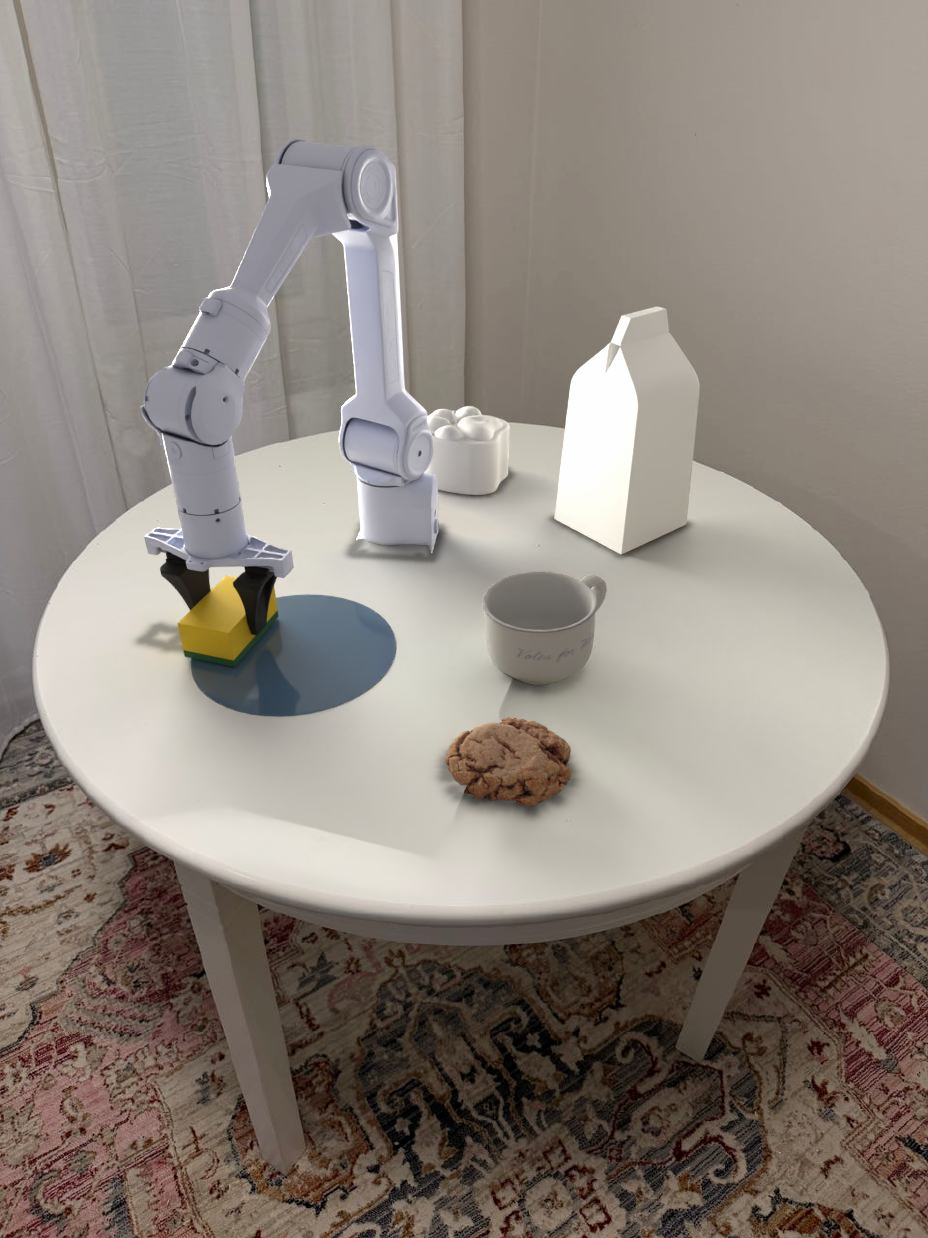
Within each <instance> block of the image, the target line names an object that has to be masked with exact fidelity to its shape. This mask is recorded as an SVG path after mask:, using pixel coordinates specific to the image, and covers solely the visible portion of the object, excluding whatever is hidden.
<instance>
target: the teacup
mask: <svg viewBox="0 0 928 1238" xmlns="http://www.w3.org/2000/svg"><path fill="white" fill-rule="evenodd" d="M607 590H608V589H607V583H606V581H605V579H604V578H603V577H601V576H600V575H597V574H593V573H589V574H586V575H585V576H583V577H582V578H581V579H577V578H576V577H573V576H570V575H567V574H563V573H558V572H554V571H553V572H552V571H529V572H527V571H526V572H520V573H514V574H511V575H508V576H505V577H502V578H500V579H499V580H497V581H495V582H494V583H492V584H490V585H489V587H488V588H487V589H486V590H485V592H484V593H483V596H482V600H481V603H482V609H483V614H484V615H483V617H484V619H483V620H484V634H485V645H486V650H487V652H488V656H489V658H490V659H491V662H492V663H493V664H494V665H495V666H496V667H497V668H498V669H499V670H500V671H501V672H503V674H505V675H507V676H509V677H511V678H513V679H515V680H517V681H519V682H522V683H525V684H531V685H550V684H554V683H557V682H560V681H562V680H566V679H567V678H568V677H570V676H573V675H574V674H576V673H577V672H579V671H580V670H582V668H583V667H584V666H585V665H586V663H587V662H588V660H589V659H590V657H591V654H592V650H593V647H594V639H595V629H596V628H595V627H596V613H597V612H598V610H599V609H600V608H601V606H602V604H603V603H604V601H605V599H606V596H607Z"/></svg>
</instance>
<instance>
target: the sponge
mask: <svg viewBox="0 0 928 1238" xmlns="http://www.w3.org/2000/svg"><path fill="white" fill-rule="evenodd" d="M237 578H238V576H237V577H236V576H231V575H225V576H224V577H223V578H222V579H221V580H220V581H219V582H218V583H216V585H215V586H214V587H213V588H212V589H211V591H210V592H209V593H208V594H207V595H206V596H205V597H204V598H203V599H202V600H201V601H200V602H199V603H198V604H196V605H195V606H194V607H193V608H192V609H191V610H190V609H189V611H188V612H187V613H186V614H185V615H184V616H183V617H182V618H181V619H180V620H179V621H178V622H177V628H178V633H179V637H180V642H181V647H182V649H183V655H184V657H185V658H189V659H191V658H193V659H198V660H203V661H208V662H212V663H217V664H222V665H227V666H231V667H236V665H237V664H238V663H239V662H240V661H241V660H242V658H243V657H244V656H245V655H246V654H247V653H248V651H249V650H250V649H251V648H252V647H253V646H254V644H255V643H256V642H257V641H258V640H259V639H260V638H261V636H262V635H263V634H264V633H265V632H266V631H267V629H268V628H269V627H270V626H271V625H272V624H273V622H274V621H275V620H276V619H277V618H278V617H279V616H278V609H277V602H276V598H277V595H276V590H275V586H274V587H273V590H272V593H271V597H270V601H269V606H268V614H267V625H266V626H265V627H264V629H263V630H262V631H261V632H260V633H259V634H258V635H252V634H251V632H250V630H249V627H248V623H247V619H246V613H245V609H244V606H243V603H242V601H241V598H240V596H239V594H238V592H237V591H236V589H235V588H234V586H233V582H234V581H235V580H236V579H237Z"/></svg>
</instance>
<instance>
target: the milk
mask: <svg viewBox="0 0 928 1238" xmlns="http://www.w3.org/2000/svg"><path fill="white" fill-rule="evenodd" d="M700 387H701V383H700V380H699V377H698V374H697V372H696V370H695V368H694V367H693V364H692V363H691V362H690V361H689V359H688V357H687V356H686V355H685V353H684V352H683V350H682V348H681V347H680V346H679V344H678V343H677V341H676V340H675V338H674V337H673V335H672V334H671V332H670V326H669V319H668V310H667V308H665V307H661V306H657V305H656V306H653V307H649V308H645V309H642V310H638V311H633V312H630V313H626V314H622V315H620V318H619V321H618V323H617V326H616V328H615V331H614V333H613V335H612V338H611V340H610V342H609V343H607V345H606V346H604V348H602V349H601V350H600V351H599V352H597V353H596V354H595V355H594V356H593V357H591V358H590V359H589V360H587V361H586V362H585V363H584V364H583V365H581V366H580V367H579V368H578V369H577V370H576V371H575V372H574V374H573V376H572V378H571V381H570V386H569V392H568V393H569V394H568V401H567V409H566V417H565V426H564V436H563V444H562V451H561V460H560V469H559V477H558V485H557V492H556V499H555V500H556V502H555V509H554V517H553V519H554V520H556V521H557V522H559V523H561V524H562V525H565V526H567V527H569V528H571V529H572V530H574V531H576V532H578V533H580V534H582V535H583V536H586V537H587V538H589V539H591V540H593V541H595V542H597V543H599V544H601V545H602V546H604V547H606V548H608V549H610V550H611V551H614V552H615V553H617V554H619V555H623V554H626V553H628V552H630V551H632V550H635V549H637V548H639V547H640V546H643V545H645V544H648V543H650V542H651V541H654V540H656V539H659V538H661V537H663V536H664V535H667V534H670V533H672V532H673V531H675V530H678V529H680V528H682V527H684V526H687V523H688V514H689V504H690V503H689V502H690V493H691V482H692V474H693V473H692V472H693V464H694V463H693V462H694V454H695V441H696V432H697V422H698V421H697V420H698V411H699V402H700V391H701V389H700Z"/></svg>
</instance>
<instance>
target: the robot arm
mask: <svg viewBox="0 0 928 1238" xmlns="http://www.w3.org/2000/svg"><path fill="white" fill-rule="evenodd" d="M396 170H397V168H396V166H395V165H394V163H393V162H392V161H391V160H390V159H389V158H388V157H387V156H386V155H385V154H384V153H383V151H381V150H380V148H378V147H376V146H374V145H371V144H369V145H368V144H363V145H361V146H360V145H349V144H338V143H327V142H316V141H306V140H305V139H299V138H292V139H289V140H286V141H285V142H284V143H283V144H281V146H280V148H279V149H278V151H277V153H276V155H275V157H274V161H273V164H272V165H271V166H270V168H268V171H267V172H266V175H265V178H266V180H265V181H266V188H267V193H268V200H267V202H266V204H265V207H264V209H263V211H262V213H261V216H260V218H259V220H258V222H257V225H256V227H255V229H254V231H253V234H252V237H251V239H250V241H249V243H248V245H247V248H246V250H245V252H244V255H243V257H242V259H241V261H240V264H239V266H238V269H237V270H236V273H235V275H234V278H233V279H232V282H231V284H230V286H227V287H224V288H219V289H214V290H212V291H211V292H210V293H209V295H208V297H204V298H203V300H202V301H201V304H200V306H199V308H198V310H199V314H198V316H197V317H196V319H195V321H194V323H193V325H192V326H191V328H190V330H189V332H188V334H187V336H186V338H185V340H184V341H183V343H182V345H181V346H180V349H179V350H178V352H177V354H176V356H175V357H174V359H173V361H172V362H171V365H169V366H165V367H163V369H160V370H158V371H157V372H156V373H154V375H153V376H152V377H151V378H149V381H148V382H147V384H146V387H145V389H144V396H143V405H141V406H140V407H139V409H140V413H141V416H142V417H143V419H144V421H145V422H146V424H147V425H148V426H149V427H150V428H151V429H153V430H154V431H155V432H156V434H157V437H158V439H159V445H160V448H162V449H163V450H164V451H165V456H166V462H167V465H168V471H169V476H170V481H171V484H172V489H173V494H174V498H175V505H176V509H177V513H178V518H179V519H178V520H179V524H180V528H163V527H157V526H156V527H155V528H153V529H152V530H150V531H148V533H146V534H145V535H144V537H143V538H144V539H143V540H144V543H145V546H146V547H145V548H146V550H147V554H148V555H153V556H158V555H160V554H161V553H163V554H165V557H166V558H165V562H164V563H163V564H162V565H161V566H160V568H159V571H160V576H161V577H162V578H163V579H165V580H166V581H167V582H168V583H169V584H170V585H171V586H172V588H174V589H175V590H176V592H177V593H178V594H179V595H180V597H181V598H182V599H183V601H184V602H185V604H186V606H187V608H188V609H189V611H190V610H191V609H192V608H193V607H194V606H195V605H196V604H198V603H199V602H200V601H201V600H202V599H203V598H204V597H205V596H206V595H207V594H208V593H209V592H210V591H211V590H212V589H211V584H210V568H233V567H235V568H236V567H239V568H241V567H242V568H244V571H243V572H241V574H240V575H239V576H237V579H236V580H235V581H234V582H233V586H234V588H235V589H236V591H237V592H238V594H239V596H240V598H241V601H242V603H243V606H244V609H245V613H246V619H247V623H248V627H249V630H250V632H251V634H252V635H258V634H259V633H260V632H261V631H262V630H263V629H264V627H265V626H266V625H267V614H268V606H269V601H270V597H271V593H272V590H273V587H274V588H275V584H276V581H277V579H278V578H281V579H285V578H286V577H287V576H288V575H289V574H290V573H291V572H292V570H294V568H295V567H294V558H293V551H292V550H291V549H286V548H283V547H279V546H276V545H274V544H272V543H270V542H267V541H265V540H264V539H261V538H259V537H256V536H254V535H251V534H249V533H248V531H247V526H246V519H245V513H244V507H243V499H242V494H241V493H242V492H241V487H240V482H239V475H238V470H237V461H236V455H235V449H234V442H233V435H234V433H235V432H236V430H237V429H238V428H239V427H240V425H241V424H242V419H243V415H244V395H245V393H246V391H247V390H246V386H247V384H246V382H245V380H246V379H247V377H248V375H249V373H250V371H251V369H252V367H253V365H254V363H255V362H256V359H257V357H258V356H259V354H260V352H261V350H262V348H263V347H264V344H265V342H266V340H267V339H268V336H269V335H270V332H271V330H272V323H271V319H270V316H269V312H268V307H269V305H270V304H271V302H272V301H273V299H274V297H275V296H276V295H277V293H278V291H279V290H280V288H281V286H282V285H283V283H284V282H285V280H286V278H287V277H288V275H289V274H290V273H291V271H292V269H293V268H294V266H295V264H296V263H297V261H298V259H299V258H300V257H301V255H302V254H303V252H304V250H305V249H306V247H307V246H308V245H309V242H310V241H311V240H312V239H314V238H319V237H323V236H328V235H333V236H334V237H335V238H336V239H337V240H338V241H339V242H341V244H342V246H343V253H344V264H345V265H344V266H345V277H346V288H347V300H348V311H349V312H348V313H349V323H350V325H349V326H350V335H351V348H352V359H353V371H354V383H355V384H354V385H355V394H354V395H353V396H351V397H350V398H349V399H347V400H346V401H345V402H344V404H343V405H342V406H341V407H340V408H341V409H340V413H341V423H340V428H339V432H338V448H339V453H340V456H341V457H342V458H343V460H344V461H346V462H347V463H349V464H350V471H351V472H350V473H353V474H355V475H356V485H357V486H356V487H357V499H358V501H357V502H358V514H359V528H360V530H359V532H358V534H357V536H356V539H355V540H356V541H357V540H366V541H367V542H370V543H372V544H375V545H380V546H396V545H398V546H399V545H420V546H421V545H422V546H428V548H429V551H430V554H433V552H434V548H435V544H436V541H437V537H438V534H439V531H440V518H439V517H440V516H439V490H438V480H437V475H435V474H430V473H426V472H425V471H426V470H427V468H428V467H429V465H430V463H431V460H432V456H433V450H434V443H433V438H432V434H431V432H430V429H429V427H428V421H427V415H428V411H427V410H426V409H425V408H424V406H422V405H421V404H420V403H419V402H418V401H417V400H416V399H415V398H414V397H413V396H412V395H411V394H410V393H409V392H408V390H407V389H406V383H405V365H404V364H405V362H404V345H403V325H402V324H403V323H402V322H403V321H402V304H401V303H402V302H401V284H400V263H399V243H398V233H399V230H400V229H399V212H398V211H399V209H398V188H397V171H396Z"/></svg>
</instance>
